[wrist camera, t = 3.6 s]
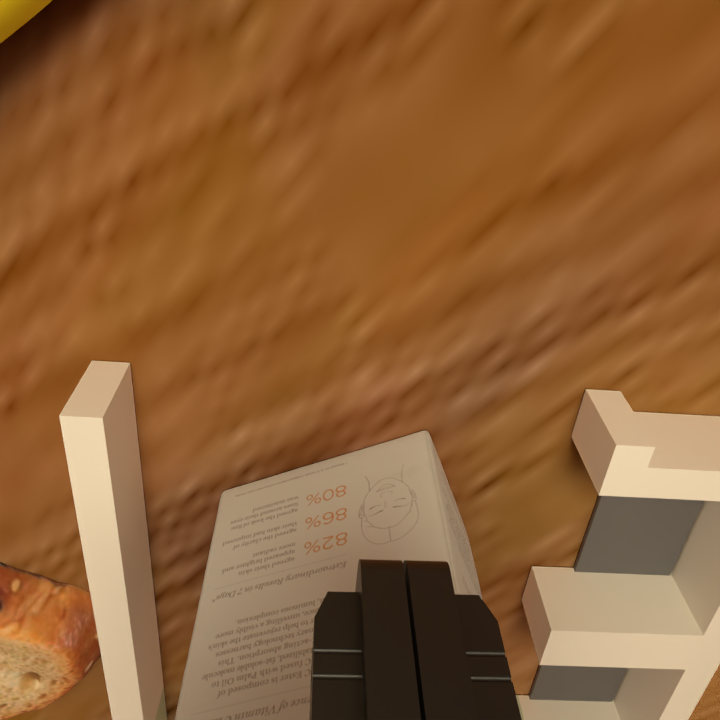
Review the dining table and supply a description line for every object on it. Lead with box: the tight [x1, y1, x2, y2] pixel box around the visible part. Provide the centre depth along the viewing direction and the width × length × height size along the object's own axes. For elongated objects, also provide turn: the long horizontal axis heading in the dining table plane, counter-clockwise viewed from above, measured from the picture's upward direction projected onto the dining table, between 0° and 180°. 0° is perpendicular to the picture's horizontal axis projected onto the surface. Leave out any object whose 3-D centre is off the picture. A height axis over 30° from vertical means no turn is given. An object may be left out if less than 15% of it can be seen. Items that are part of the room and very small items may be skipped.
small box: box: [175, 430, 482, 720], centre depth 21 cm, size 8×6×10 cm
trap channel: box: [59, 361, 720, 720], centre depth 28 cm, size 26×23×3 cm
